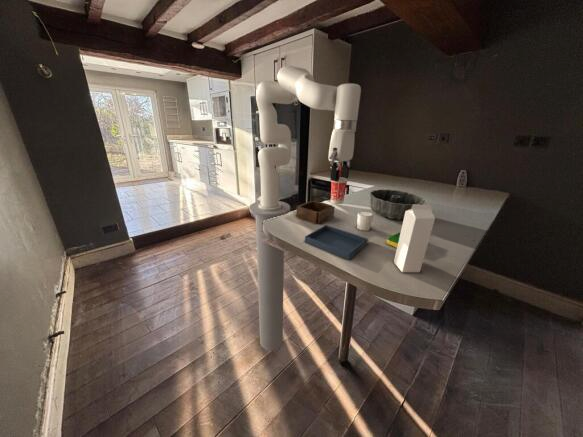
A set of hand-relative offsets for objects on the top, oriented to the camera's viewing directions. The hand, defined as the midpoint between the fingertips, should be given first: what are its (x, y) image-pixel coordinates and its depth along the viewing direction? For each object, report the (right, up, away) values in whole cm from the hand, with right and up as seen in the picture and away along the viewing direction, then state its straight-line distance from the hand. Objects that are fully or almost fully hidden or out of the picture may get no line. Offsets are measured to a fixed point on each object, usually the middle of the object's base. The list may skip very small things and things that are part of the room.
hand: (339, 178), depth 84 cm
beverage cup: (0, -8, +3) cm, 9 cm away
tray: (0, -24, +7) cm, 25 cm away
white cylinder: (+15, -19, +21) cm, 32 cm away
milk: (+21, -31, -7) cm, 38 cm away
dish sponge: (+28, -24, +9) cm, 38 cm away
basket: (-6, -14, +32) cm, 35 cm away
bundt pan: (+36, -12, +39) cm, 55 cm away
